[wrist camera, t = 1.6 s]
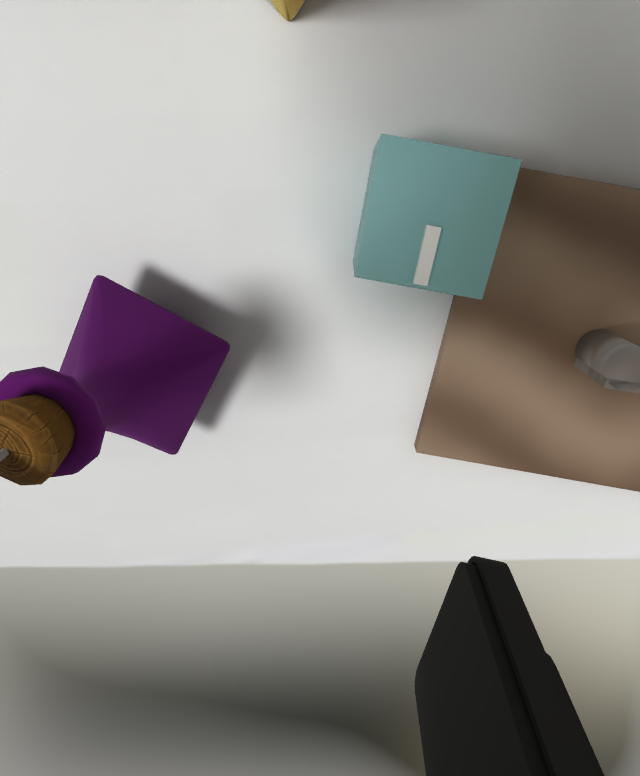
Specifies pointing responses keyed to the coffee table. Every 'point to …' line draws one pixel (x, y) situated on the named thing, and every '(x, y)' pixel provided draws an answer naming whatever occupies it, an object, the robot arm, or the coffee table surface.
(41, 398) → the perfume bottle
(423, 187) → the teal cube
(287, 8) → the candy box
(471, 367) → the plate
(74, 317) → the coffee table surface
